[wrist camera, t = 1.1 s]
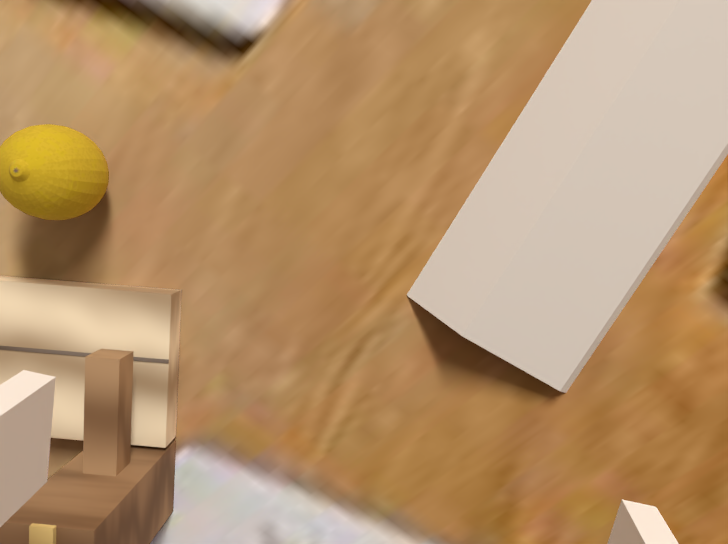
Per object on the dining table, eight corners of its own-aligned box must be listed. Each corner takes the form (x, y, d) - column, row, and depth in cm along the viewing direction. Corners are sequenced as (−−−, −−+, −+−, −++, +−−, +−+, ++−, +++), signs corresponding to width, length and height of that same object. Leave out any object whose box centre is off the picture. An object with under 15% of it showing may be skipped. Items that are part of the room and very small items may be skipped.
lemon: (61, 228, 43) (-15, 235, 35) (33, 146, 42) (-51, 133, 34) (140, 204, 42) (81, 205, 34) (113, 120, 42) (46, 102, 34)
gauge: (173, 512, 45) (89, 631, 32) (101, 505, 45) (-10, 621, 32) (179, 339, 43) (94, 394, 31) (105, 333, 43) (-8, 385, 31)
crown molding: (564, 390, 43) (579, 408, 39) (405, 295, 43) (405, 303, 39) (828, -8, 39) (871, -28, 36) (656, -113, 39) (681, -145, 36)
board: (175, 436, 44) (165, 448, 42) (-154, 407, 45) (-181, 417, 43) (181, 289, 43) (171, 294, 41) (-157, 263, 44) (-185, 266, 42)
